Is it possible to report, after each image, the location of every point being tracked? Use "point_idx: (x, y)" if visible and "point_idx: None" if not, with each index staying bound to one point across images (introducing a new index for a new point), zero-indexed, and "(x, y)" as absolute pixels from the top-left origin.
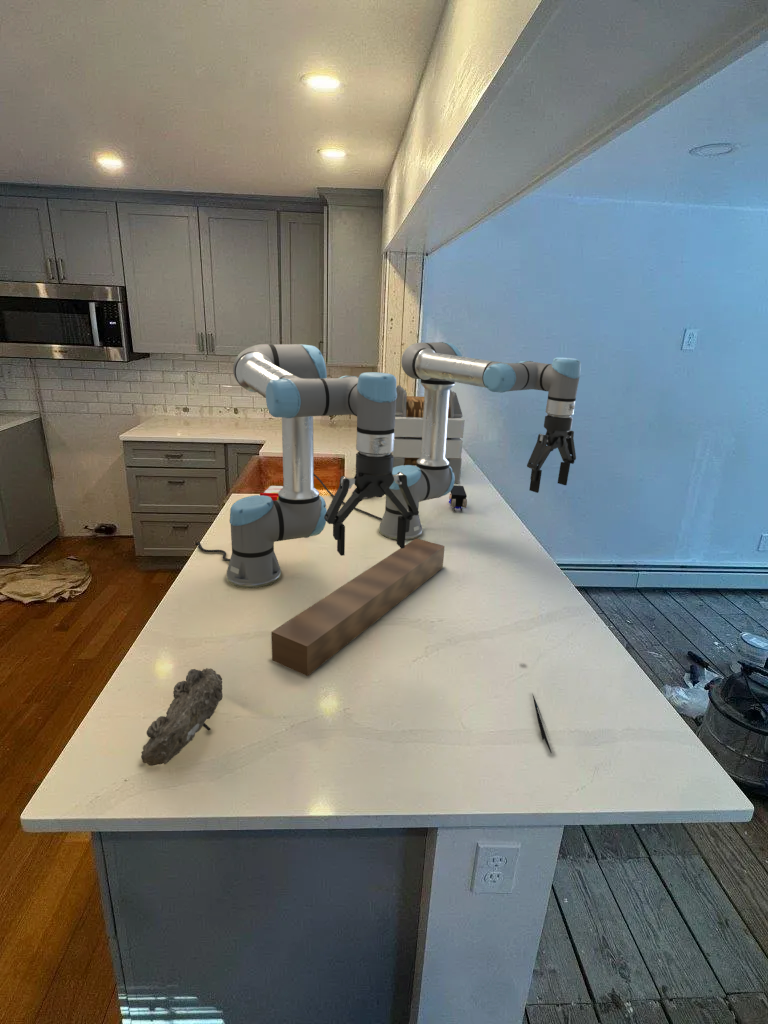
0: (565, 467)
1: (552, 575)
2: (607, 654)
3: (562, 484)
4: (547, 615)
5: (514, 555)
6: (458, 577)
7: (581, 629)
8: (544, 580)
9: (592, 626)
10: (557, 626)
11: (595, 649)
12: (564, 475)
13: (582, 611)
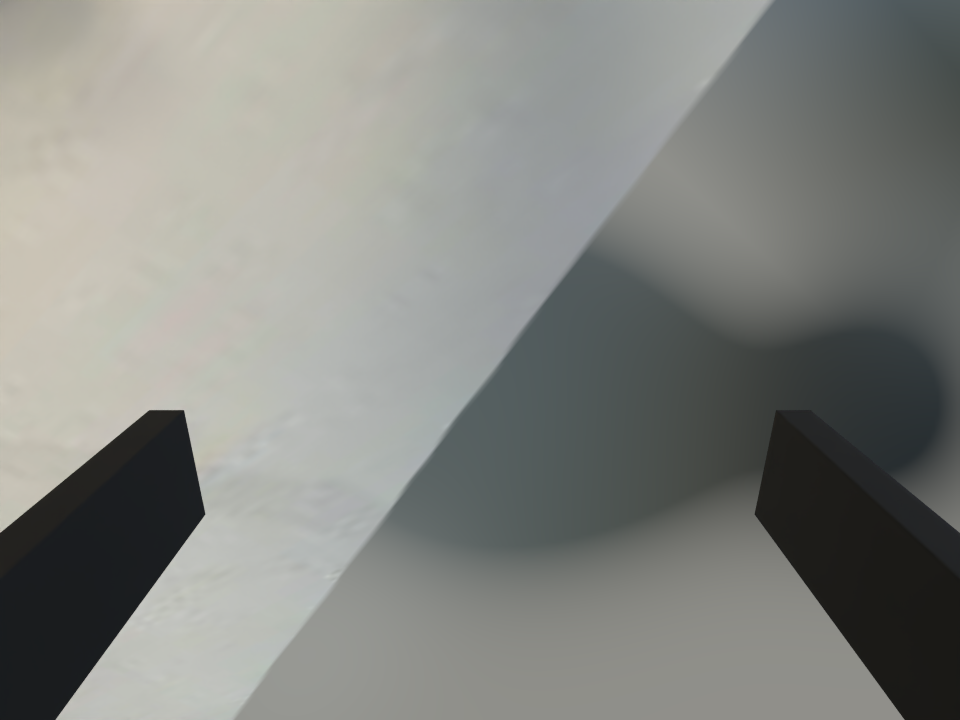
0: (932, 692)
1: (517, 310)
2: (229, 666)
3: (764, 479)
4: (235, 481)
5: (558, 45)
6: (103, 63)
7: (268, 577)
8: (445, 319)
9: (313, 584)
10: (212, 533)
11: (219, 642)
12: (830, 577)
13: (363, 526)
